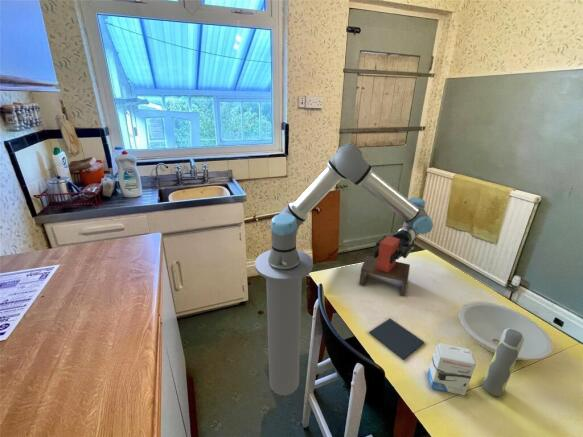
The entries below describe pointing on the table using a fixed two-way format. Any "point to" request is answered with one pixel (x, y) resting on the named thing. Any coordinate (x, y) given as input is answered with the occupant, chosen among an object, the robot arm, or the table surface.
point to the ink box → (451, 368)
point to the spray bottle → (503, 362)
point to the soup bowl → (495, 319)
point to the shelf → (396, 273)
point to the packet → (387, 253)
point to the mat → (396, 338)
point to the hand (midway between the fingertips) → (383, 257)
